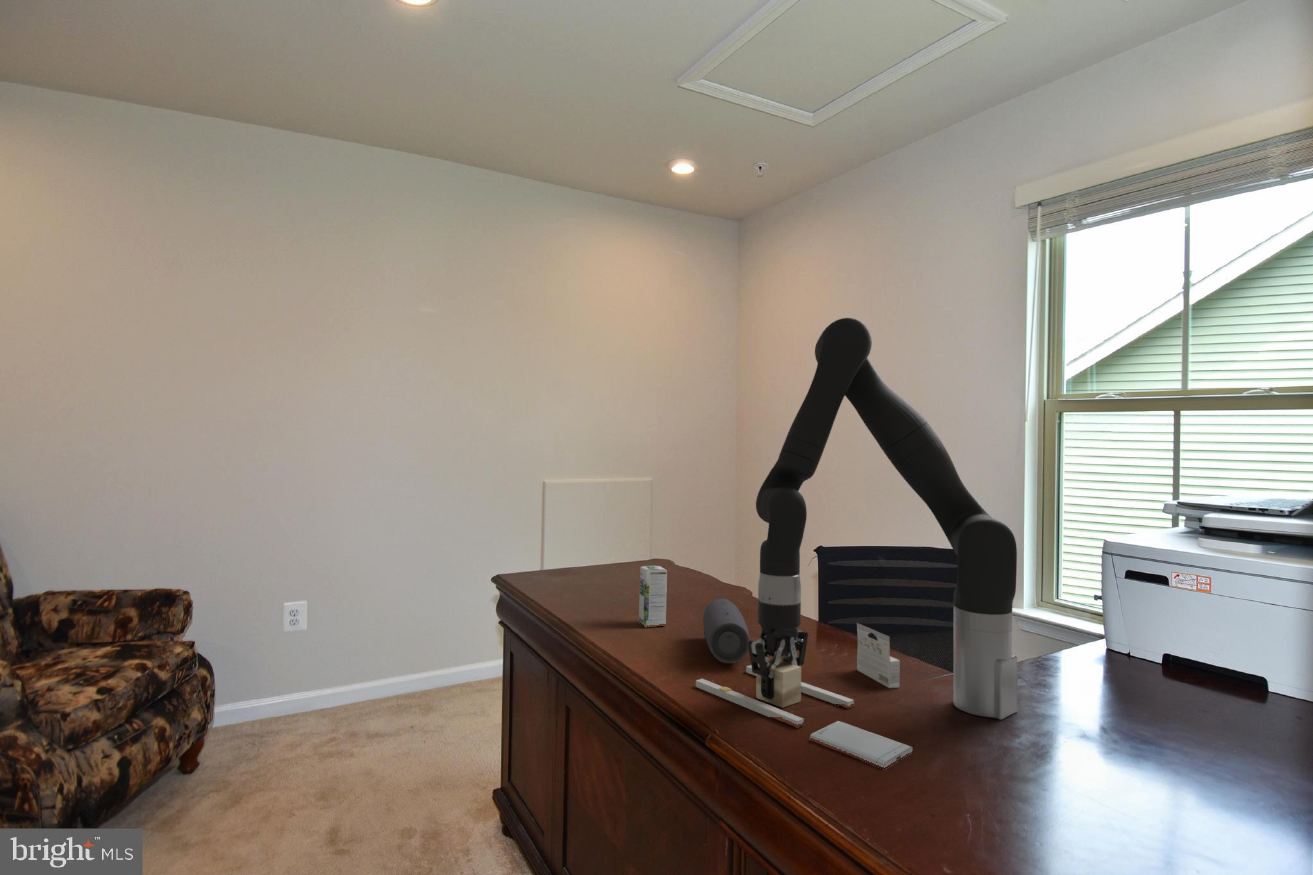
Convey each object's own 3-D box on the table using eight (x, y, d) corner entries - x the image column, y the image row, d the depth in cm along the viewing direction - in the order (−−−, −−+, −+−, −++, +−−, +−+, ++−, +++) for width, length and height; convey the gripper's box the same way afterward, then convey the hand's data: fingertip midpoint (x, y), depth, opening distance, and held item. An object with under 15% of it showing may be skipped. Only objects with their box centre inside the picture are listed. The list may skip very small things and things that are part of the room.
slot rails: (853, 706, 117) (853, 698, 117) (797, 728, 108) (797, 719, 108) (751, 670, 136) (751, 663, 136) (695, 686, 127) (695, 679, 127)
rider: (801, 701, 120) (801, 666, 120) (782, 707, 116) (782, 672, 116) (774, 691, 124) (775, 658, 124) (756, 697, 121) (756, 663, 121)
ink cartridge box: (866, 669, 138) (866, 621, 138) (900, 688, 127) (900, 636, 128) (855, 670, 137) (856, 622, 138) (889, 689, 127) (889, 636, 127)
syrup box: (638, 622, 173) (638, 565, 173) (660, 621, 175) (660, 565, 175) (644, 628, 168) (645, 569, 168) (667, 626, 169) (667, 568, 170)
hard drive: (809, 733, 104) (884, 761, 94) (839, 719, 109) (912, 744, 100) (809, 744, 104) (884, 773, 94) (839, 730, 109) (912, 755, 100)
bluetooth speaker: (752, 670, 137) (753, 620, 137) (706, 669, 137) (707, 619, 137) (741, 638, 159) (741, 596, 160) (701, 638, 160) (701, 595, 160)
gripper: (768, 607, 113) (767, 710, 113) (821, 596, 122) (820, 691, 122) (736, 599, 119) (735, 697, 119) (788, 589, 128) (787, 680, 128)
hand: (778, 693), depth 120 cm, fingers closed on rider, 5 cm apart
